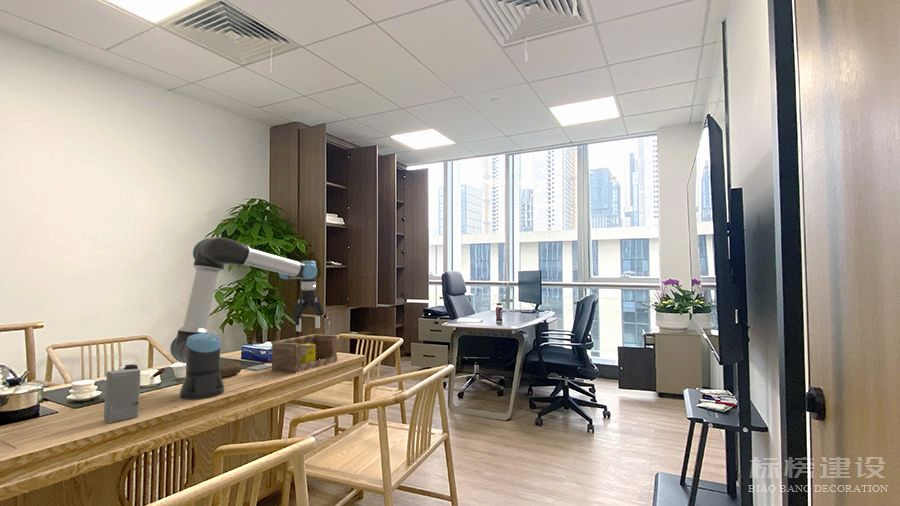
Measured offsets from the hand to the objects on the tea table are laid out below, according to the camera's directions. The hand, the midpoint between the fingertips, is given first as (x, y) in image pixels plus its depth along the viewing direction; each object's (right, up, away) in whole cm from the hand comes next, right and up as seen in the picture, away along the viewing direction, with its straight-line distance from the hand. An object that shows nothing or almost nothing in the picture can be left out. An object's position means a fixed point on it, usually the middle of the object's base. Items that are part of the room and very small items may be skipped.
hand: (308, 329), depth 218 cm
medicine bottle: (-53, -16, -56) cm, 78 cm away
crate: (-1, -19, -2) cm, 19 cm away
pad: (-22, -18, -8) cm, 30 cm away
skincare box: (-35, -15, -81) cm, 89 cm away
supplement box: (0, -19, -1) cm, 19 cm away
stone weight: (-31, -18, -26) cm, 44 cm away
